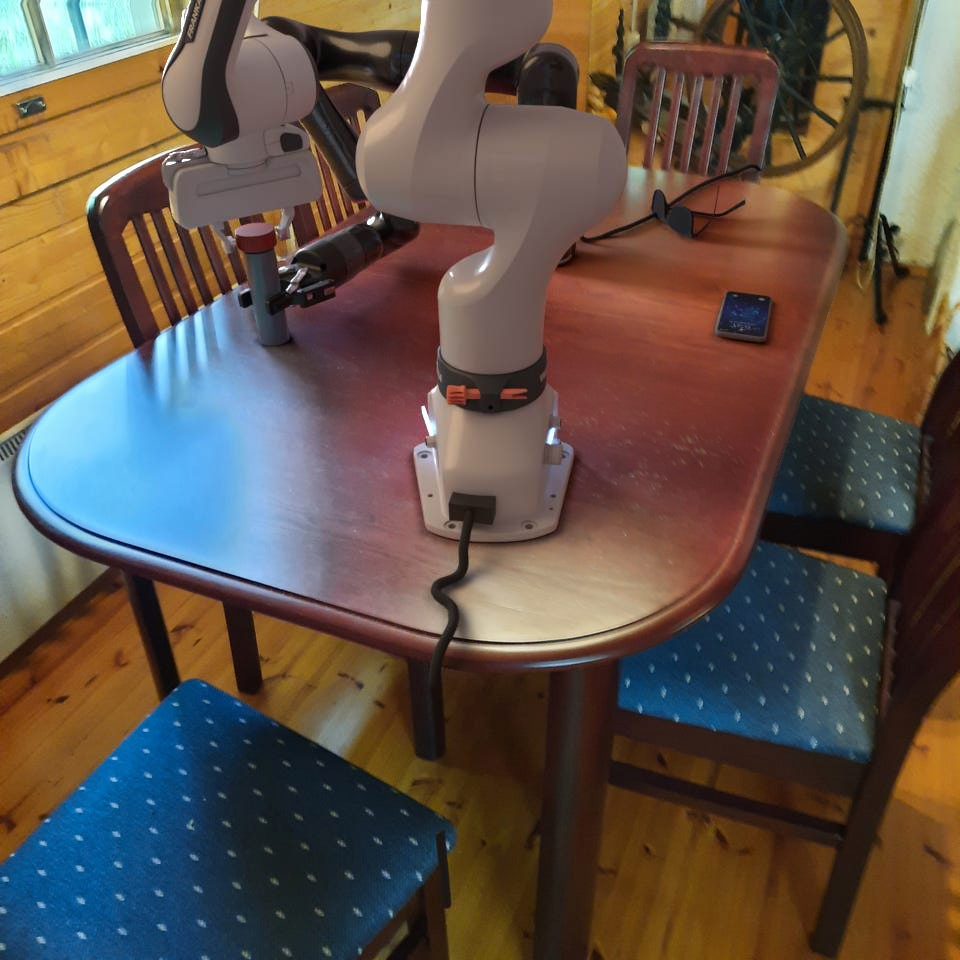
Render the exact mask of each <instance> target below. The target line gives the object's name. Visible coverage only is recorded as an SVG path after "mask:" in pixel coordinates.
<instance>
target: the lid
mask: <svg viewBox="0 0 960 960" xmlns="http://www.w3.org/2000/svg"><path fill="white" fill-rule="evenodd" d="M234 239H235V241H236V247H237V249H238V250H239V251H241V252H242V251H244V252H262V251H267V250H270V249H272V248H273V247H274V248H275V247H276V246H277V245H278V239H277V237H276V231H275V226H273V224H271V223H268V222H251V223H246V224H243V225H240V226H238V227H237V228H236V229H235V230H234Z"/></svg>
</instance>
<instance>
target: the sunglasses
mask: <svg viewBox="0 0 960 960" xmlns="http://www.w3.org/2000/svg"><path fill="white" fill-rule="evenodd" d="M720 187H721V185H720V184H718V187H717V192H716V197H715V198H716V199H715V204H714V210H713V213H710V212H703V211H697V210H691V209H690V208H689V207H687V206H686V205H681V204H674V205H673V206H671V207H669V205H668V204H669V203H668V201H667V197H666V195H665V193H664V192H663V190H661V188H660V189H659V188H657V189H655V190H654V191H653V193H652V194H653V195H652V200H651V205H650V207H649V208H650V211H651V214H652V213H654V212H656V214H657V215H656V216H655V217H654V218H656V219H657V220H659V221H660V222H662V223H664V224H665V225H667V226H668V227H669V228H670V229H671V230H673V231H674V232H675V233H677V234H679V235H681V236H683V237H686V238H689V239H695V238H698V237H699V236H700V235H701V234H702V233H703V232H704V231H705V230H706V229H707V228H708V227H709V226H710V224H711V223H712V221H713V219H714V218H720V217H724V216H726V215H729V214H730V213H732V212H734V211H736V210H738V209H740V208H741V207H744V206H745V205H746V199H745V198H744V199H742V200H741V201H740V202H738V203H736V204H735V205H734V206H732V207H731V208H728V209H727V210H726V211H724V212H721V213H716V210H717V205H718V199H719V192H720ZM694 215H696V216H702V217H709V220H708V221H707V222H706V224H705V225H704V226H703V227H702V228H701V229H699V231H697V232H696V233H695V232H694V229H695V216H694Z"/></svg>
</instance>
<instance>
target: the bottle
mask: <svg viewBox="0 0 960 960" xmlns="http://www.w3.org/2000/svg"><path fill="white" fill-rule="evenodd" d="M276 254H277V253H276V249H275V247H273V248H272V249H270V250H267V251H262V252H244V251H241V255H242V259H243V260H242V261H243V265H244V270H245V275H246V280H247V285H248V288H249V291H250V296H251V301H252V305H251V306H252V311H253V316H254V322H255V326H256V331H257V337H258V340H259V343H260V344H261V345H264V346H267V347H269V346H270V347H273V346H280V345H282V344H285V343H287V342H288V341H289V340H290V339H291V336H290V330H289V324H288V317H287V313H286V312H287V311H286V309H284V310H282V311H281V312H278V313H276V314H275V315H273V316H271V315H268V314H267V313H266V307H265V301H266V300H268V299H269V298H271V297H273V296H275V295H277V294H278V293H280V292H282V288H281V282H280V277H279V271H278V270H279V264H278V259H277V255H276Z"/></svg>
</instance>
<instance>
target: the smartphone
mask: <svg viewBox="0 0 960 960" xmlns="http://www.w3.org/2000/svg"><path fill="white" fill-rule="evenodd" d="M773 302H774V301H773V298H772V297H771V296H769V295H763V294H756V293H749V292H743V291H734V290H729V291H726V292H725V293H724V295H723V299H722V301H721V306H720V310H719V312H718V317H717V319H716V322H715V328H714V334H715V335H716V336H717V337H718V338H719V337H720V338H725V339H732V340H739V341H747V342H754V343H764V342H765V341H767V338H768V333H769V328H770V318H771V313H772V307H773Z"/></svg>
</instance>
